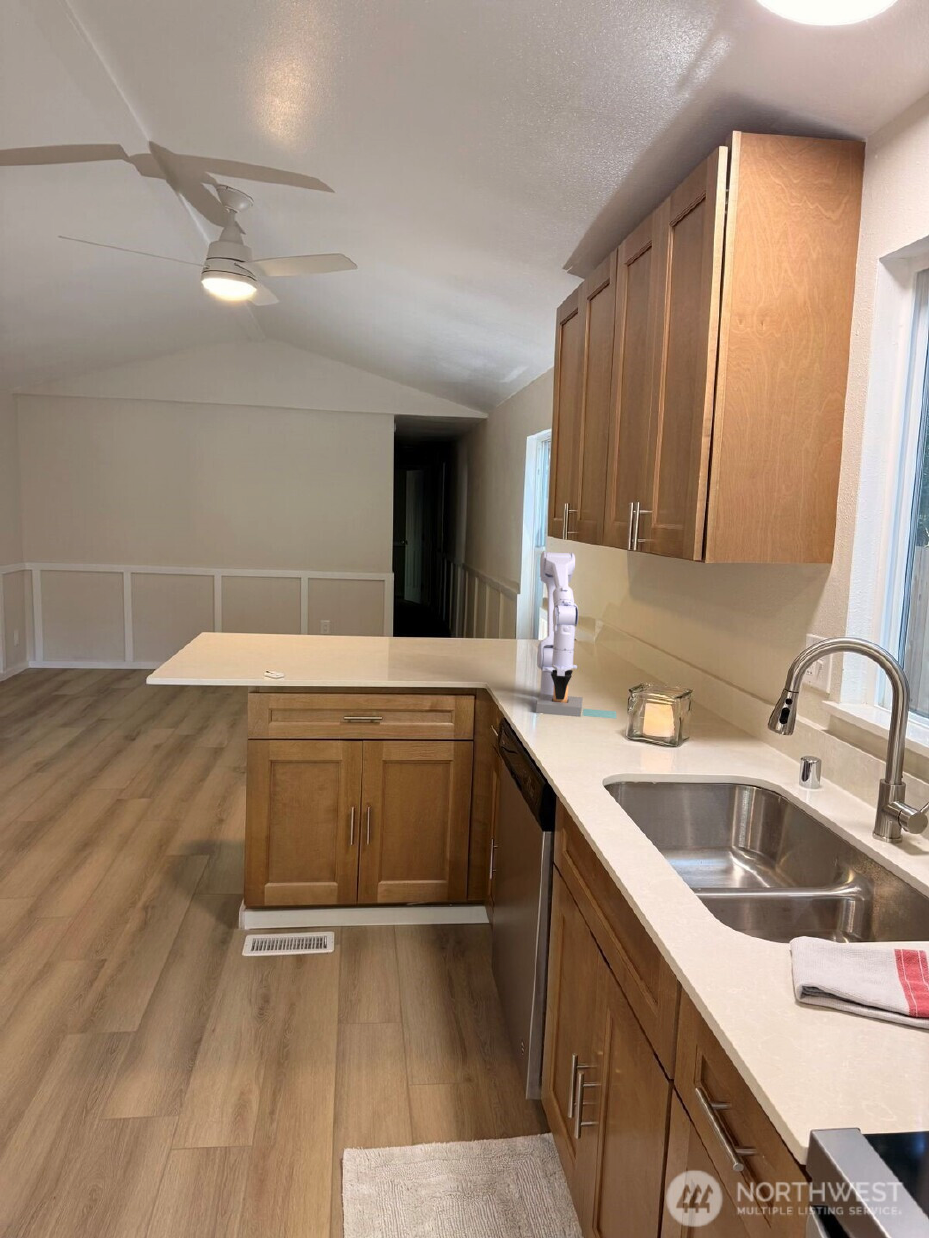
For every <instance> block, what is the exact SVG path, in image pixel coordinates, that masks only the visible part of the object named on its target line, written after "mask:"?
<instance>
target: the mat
mask: <svg viewBox="0 0 929 1238" xmlns="http://www.w3.org/2000/svg"><path fill="white" fill-rule="evenodd" d="M582 710H583V711H582V716H583V717H593V718H603V719H604V718H605V719H617V711H616V710H615V711H614V710H605V709H603V710H602V709H591V708H582Z"/></svg>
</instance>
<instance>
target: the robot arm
mask: <svg viewBox="0 0 929 1238" xmlns="http://www.w3.org/2000/svg"><path fill="white" fill-rule="evenodd" d="M539 561H540V562H539V577H540V581H541V582H542V583H543V584H545V585H546V590H547V619H546V620H547V626H546V627H547V628H546V629H547V631H546V632H547V633H546V634H547V636H546V637H545V638H544V639H542V640H541V641H540V642H539V643H538V645H537V655H536V665H537V667H538V669H540V670H541V673H540V687H539V689H540V690H539V695H540V694H547V695H553V691H554V687H555V696H556V699H562V700H564V697H565V693H566V688H567V685H568V686H569V682H570V680H571V678H572V674H573V672H574V671H573V669H577V668H578V665H577V664H574V655H575V653H574V652H575V637H576V636H575V635H576V627H577V626H578V623H579V608H578V605H577V603H575V600H574V599H575V597H574V591H573V589H572V588H571V587H570V586H569V584H570V583H571V581H572V578H573V575H574V572H575V569H576V555H575V554H574V553H573V552H555V551H553V552H552V551H550V552H549V551H542V552H541V554H540V558H539Z"/></svg>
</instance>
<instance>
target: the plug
mask: <svg viewBox="0 0 929 1238" xmlns="http://www.w3.org/2000/svg"><path fill="white" fill-rule="evenodd" d="M568 696H569V684H568V685H567V688H566V693H565V697H564V700H562V699H556V696H555V687H554V691H553V702H563V703H567V700H568Z"/></svg>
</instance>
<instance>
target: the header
mask: <svg viewBox="0 0 929 1238" xmlns="http://www.w3.org/2000/svg"><path fill="white" fill-rule="evenodd" d="M582 710H583V697H582V696H570V695H568V700H567V703H563V702H553V695H547V694H540V693H539V696H538V699H537V702H536V708H535V713H536V714H540V713H543V715H553V716H564V717H565V716H567V717H576V718H577V717H579V718H581V716H582V712H583V711H582Z"/></svg>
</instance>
